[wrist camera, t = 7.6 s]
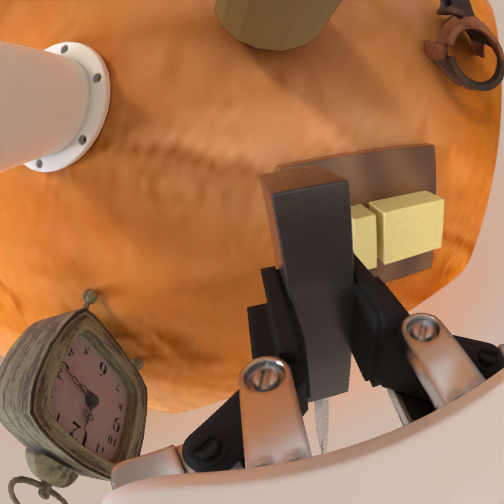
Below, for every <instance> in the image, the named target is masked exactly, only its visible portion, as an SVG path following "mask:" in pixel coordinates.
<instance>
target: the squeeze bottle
mask: <svg viewBox="0 0 504 504" xmlns="http://www.w3.org/2000/svg"><path fill="white" fill-rule="evenodd" d="M341 2H342V0H216V5H215V12H216V14H217V17H218V19H219V21H220V23H221V25H222V27H223V28H224V29H225V30H226V31H228V32H229V33H230V34H231V35H232V36H233V37H234V38H236V39H237V40H238V41H241V42H243V43H246V44H248V45H251V46H253V47H256V48H258V49H269V50H279V51H282V50H287V49H291V48H296V47H301V46H303V45H305V44H306V43H308V42H309V41H311V40H312V39H314V38H316V37H317V36H318V35H319V33H320V32H321V30H322V29H323V27H324V26H325V25H326V23H327V22H328V20H329V19H330V17H331V16H332V14H333V13H334V12H335V10H336V9H337V7H338V6H339V5H340V3H341Z"/></svg>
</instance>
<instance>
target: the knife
mask: <svg viewBox="0 0 504 504" xmlns="http://www.w3.org/2000/svg"><path fill="white" fill-rule="evenodd" d="M260 180H261V185H262V190H263V195H264V200H265V205H266V210H267V215H268V220H269V225H270V230H271V236H272V241H273V246H274V251H275V257H276V262H277V267H278V269H279V271H280V274H281V277H282V280H283V283H284V286H285V289H286V292H287V295H288V298H289V301H292V302H293V305H294V308H295V311H296V314H297V317H298V320H299V323H300V326H301V329H302V332H303V335H304V339H305V344H306V352H307V362H308V372H309V382H310V393H311V398H307V402H312V401H314V405H315V419H316V432H317V436H318V440H319V443H320V447H321V451H322V454H325V453H327V442H328V415H329V414H328V413H329V412H328V411H329V397H331V396H335V395H338V394H341V393H344V392H347V391H348V388H349V377H350V365H351V353H352V352H351V344H352V323H353V285H354V265H353V235H352V218H351V204H350V192H349V182H348V180H346V179H345V178H343V177H341V176H339V175H337V174H335V173H333V172H331V171H329V170H328V169H326V168H324V167H322V166H320V165H311V166H305V167H299V168H294V169H288V170H283V171H278V172H273V173H268V174H263V175H260Z"/></svg>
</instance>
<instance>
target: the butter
mask: <svg viewBox="0 0 504 504" xmlns="http://www.w3.org/2000/svg"><path fill="white" fill-rule="evenodd" d="M369 210H370V211H371V212H373V213H374V214H376V233H377V257H378V258H379V259H380V260H381V261H382V262H383V263H384V265H386V264H389V263H392V262H396V261H399V260H402V259H406V258H409V257H412V256H415V255H418V254H422V253H425V252H428V251H431V250H434V249H437V248H440V247H441V244H442V233H443V219H444V199H443V198H441V197H439V196H437V195H435V194H433V193H430V192H428V191H421V192H416V193H411V194H406V195H401V196H396V197H391V198H386V199H381V200H377V201H372V202H369Z"/></svg>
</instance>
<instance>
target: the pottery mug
mask: <svg viewBox="0 0 504 504" xmlns="http://www.w3.org/2000/svg"><path fill="white" fill-rule="evenodd" d="M440 3H441V5H440V7H439V9H438V10H437V12H436V13H437V14H438V15H453V16H450V17H449V21H448V22H446V23H445V25H444V26H443V28H442V29H441V31H440V32H439V35H438V38H437V43H435V42H430V41H429V40H425V41H424V48H425V52H426V54H427V55H428V56H429V57H430V58H433V59H434V60H433V61H434V63H435V65H436V66H437V67H438V68H439V69H440V70H441V71H442V72H443V73H444V74H445V75H446V76H447V77H448V78H449V79H451V80H452V81H453V82H455V83H456V84H457V85H459V86H462V85H463V86H464V87H465V88H466V89H470V90H480V91H488V90H491V89H494V87H496V86H498V84H500V83H501V81H502V80H503V77H504V54H503V50H502V48H501V46H500V44H499V42H498V41H497V39H496V37H495V36H494V35H493V34H492V33H491V31H490V30H489V29H488V28H487V26H486V25H485V24H484V23H482V22H481V21H480V20H479V19H478V18H477V17H476V16H475V15H474V13H473V10H472V7H471V4H470V1H469V0H440ZM463 31H465V32H466V33H467V34H468V36H469V38H470V41H471V44H472V50H473V54H474V55H477V56H480V57H482V58H485V51H484V50H485V45H484V44H486V45H488V46H490V47H492V49H493V51H494V53H495V54H496V57H497V67H496V70H495V73H494V75H493V76H492V78H490V79H489V80H487V81H485V82H476V81H473V80H471V79H469V78H468V77H467V76H466V75H465V74H464V73H463V72H462V71H461V69H460V68H459V66H458V64H457V62H456V59H455V57H454V56H451V57H450V56H448V51H447V48H448V45H450V46H454V43H455V41H456V38H457V36H458V35H459V34H460V33H461V32H463Z"/></svg>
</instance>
